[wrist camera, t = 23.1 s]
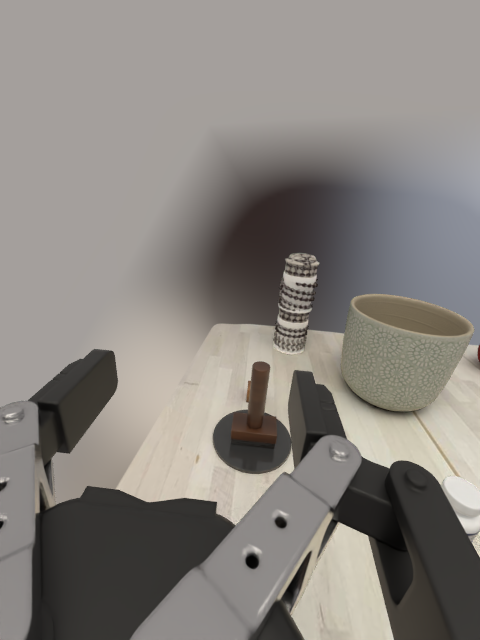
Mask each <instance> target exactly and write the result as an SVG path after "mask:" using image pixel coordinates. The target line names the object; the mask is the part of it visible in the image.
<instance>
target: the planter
mask: <svg viewBox="0 0 480 640" xmlns="http://www.w3.org/2000/svg"><path fill="white" fill-rule="evenodd" d="M473 333H474V327H473V325H472V324H471V323H470V322H469V321H468V320H467V319H465V318H464V317H462V316H460V315H458V314H457V313H455V312H452V311H450V310H448V309H445V308H443V307H440V306H437V305H434V304H431V303H428V302H424V301H420V300H416V299H412V298H406V297H401V296H394V295H384V294H368V295H360V296H357V297H355V298H353V299H352V300H351V303H350V307H349V311H348V316H347V322H346V327H345V334H344V340H343V347H342V355H341V371H342V375H343V377H344V379H345V381H346V383H347V384H348V386H349V387H350V388H351V389H352V390H353V391H354V392H355V393H356V394H357V395H358V396H359V397H361V398H362V399H363V400H365V401H367V402H368V403H370V404H372V405H375V406H377V407H380V408H383V409H387V410H392V411H414V410H418V409H421V408H424V407H426V406H428V405H429V404H431V403H432V402H433V401H434V400H435V399H436V398H437V397H438V395H439V394H440V392H441V391H442V390H443V388H444V387H445V385H446V383H447V382H448V380H449V379H450V377H451V375H452V373H453V372H454V370H455V368H456V366H457V365H458V363H459V361H460V359H461V357H462V356H463V354H464V352H465V350H466V348H467V346H468V344H469V342H470V340H471V338H472V335H473Z"/></svg>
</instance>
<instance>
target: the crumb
mask: <svg viewBox="0 0 480 640" xmlns="http://www.w3.org/2000/svg"><path fill="white" fill-rule="evenodd" d="M250 385H251V381H248V390H247V401H246V402H249V395H250Z"/></svg>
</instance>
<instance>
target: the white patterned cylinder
mask: <svg viewBox="0 0 480 640" xmlns="http://www.w3.org/2000/svg"><path fill="white" fill-rule="evenodd" d="M285 260H286V266H285V269H286V270H285V271H284V275H283V279H281V282H280V284H281V286H280V288H279V289H280V290H281V293H280V295H279V301H278V303H279V307H280V310H279V315H278V320H277V322H276V327H275V330H276V331H275V333H274V336H275V337H274V339H273V340H274V343H273V346H274V348H275V349H276V350H277V351H279V352H281V353H284V354H289V355H296V354H300V353H302V352H303V351H304V346H305V341H306V336H305V335H307V330H308V325H307V324H308V315H309V312H310V311H311V309H312V304H311V303H310V302H311V301H314V297H313V296H312V295H315V294H316V292H315V291H314V290H313V288H315V287H317V286H318V284H316V282H315V281H317V280H318V279H316V272H317V266H318V265H319V262H317V261H316V258H315V257H314V256H313V255H310V254H305V253H293V254H291V255H290V256H289V258H287V259H285ZM283 281H284V283H283ZM282 288H283V289H282Z"/></svg>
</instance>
